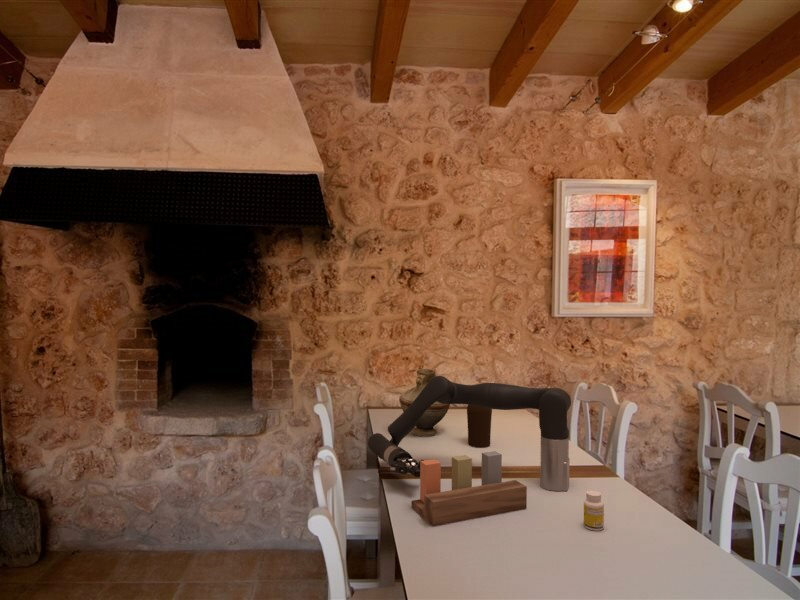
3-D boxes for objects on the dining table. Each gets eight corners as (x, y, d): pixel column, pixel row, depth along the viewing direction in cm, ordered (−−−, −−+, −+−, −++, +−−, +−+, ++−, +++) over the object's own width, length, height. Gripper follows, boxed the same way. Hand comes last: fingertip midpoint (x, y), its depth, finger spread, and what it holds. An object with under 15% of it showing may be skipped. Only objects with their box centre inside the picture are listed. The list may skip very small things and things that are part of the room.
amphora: (404, 443, 243) (410, 377, 240) (391, 425, 266) (396, 364, 262) (454, 442, 249) (460, 377, 246) (437, 424, 272) (442, 364, 269)
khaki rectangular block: (451, 494, 175) (451, 456, 175) (465, 492, 177) (465, 455, 177) (457, 498, 172) (457, 460, 171) (471, 496, 174) (471, 458, 173)
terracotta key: (420, 499, 171) (420, 461, 171) (434, 497, 173) (434, 459, 173) (425, 504, 167) (425, 465, 167) (440, 501, 169) (440, 462, 169)
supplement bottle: (587, 521, 161) (588, 488, 161) (606, 526, 157) (606, 492, 157) (580, 527, 157) (580, 493, 156) (599, 533, 153) (600, 498, 153)
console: (411, 507, 171) (411, 484, 171) (499, 492, 184) (499, 471, 183) (433, 526, 157) (433, 502, 157) (526, 508, 170) (526, 486, 170)
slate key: (481, 489, 180) (481, 452, 179) (494, 487, 182) (494, 451, 181) (488, 493, 176) (488, 456, 176) (501, 491, 178) (501, 454, 178)
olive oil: (479, 449, 231) (480, 390, 230) (461, 444, 239) (461, 386, 239) (496, 445, 238) (497, 387, 237) (478, 439, 246) (478, 384, 245)
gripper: (380, 450, 191) (399, 464, 175) (414, 445, 196) (436, 459, 180) (380, 471, 191) (399, 488, 175) (414, 466, 197) (436, 482, 181)
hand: (418, 473), depth 178 cm, fingers closed
